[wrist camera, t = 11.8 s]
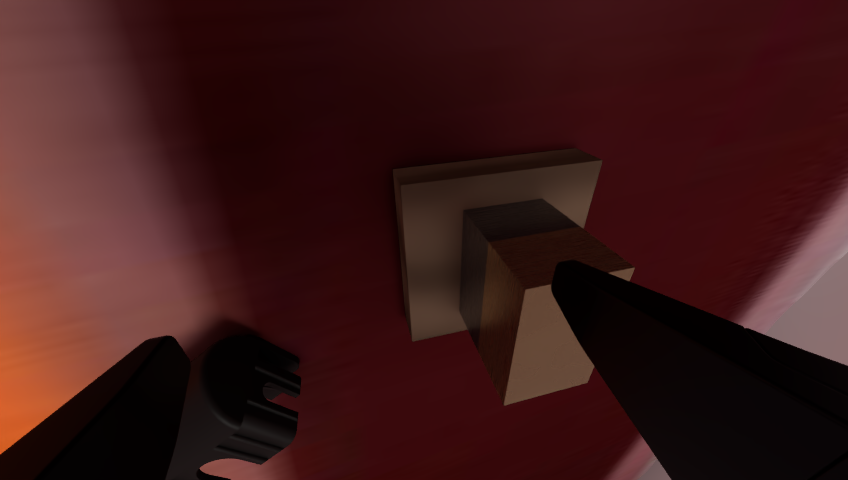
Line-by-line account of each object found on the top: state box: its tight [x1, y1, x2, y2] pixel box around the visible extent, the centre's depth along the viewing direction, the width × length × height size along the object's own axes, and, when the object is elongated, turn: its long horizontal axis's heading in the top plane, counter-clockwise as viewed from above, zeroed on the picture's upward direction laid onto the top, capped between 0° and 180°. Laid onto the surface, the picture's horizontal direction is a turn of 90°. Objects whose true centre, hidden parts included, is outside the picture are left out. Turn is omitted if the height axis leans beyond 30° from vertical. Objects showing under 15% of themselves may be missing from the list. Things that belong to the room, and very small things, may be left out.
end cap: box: [165, 335, 301, 480], centre depth 21 cm, size 10×7×7 cm
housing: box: [459, 198, 635, 405], centre depth 18 cm, size 5×8×7 cm, turn 2°
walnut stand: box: [393, 148, 602, 342], centre depth 22 cm, size 12×12×2 cm
